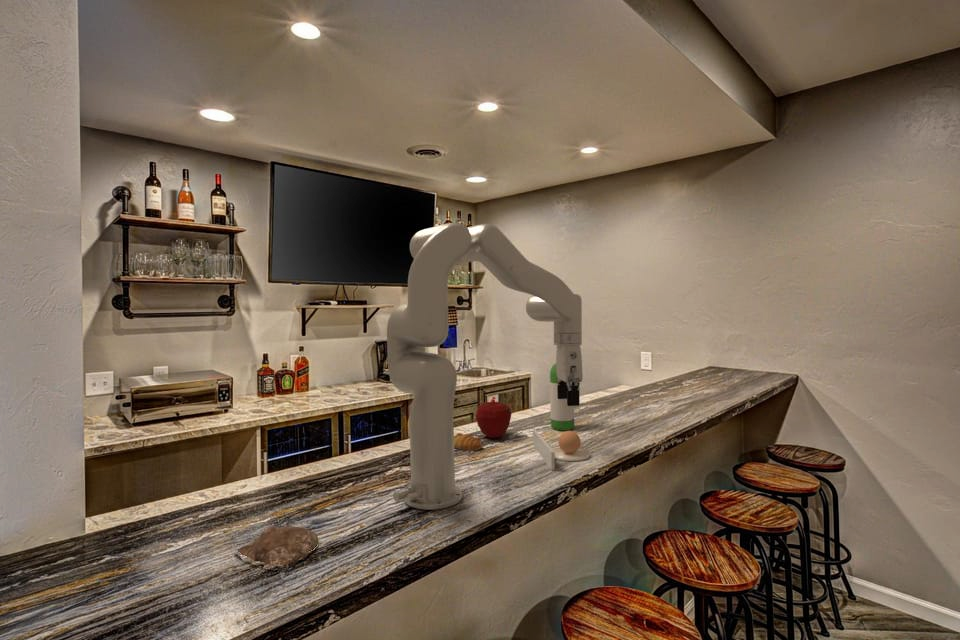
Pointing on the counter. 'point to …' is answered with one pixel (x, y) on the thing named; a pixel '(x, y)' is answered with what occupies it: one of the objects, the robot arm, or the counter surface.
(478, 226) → the robot arm
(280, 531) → the shell
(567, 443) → the ball
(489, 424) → the apple
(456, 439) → the pastry
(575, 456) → the saucer
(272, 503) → the counter surface
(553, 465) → the wall
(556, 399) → the wine bottle
